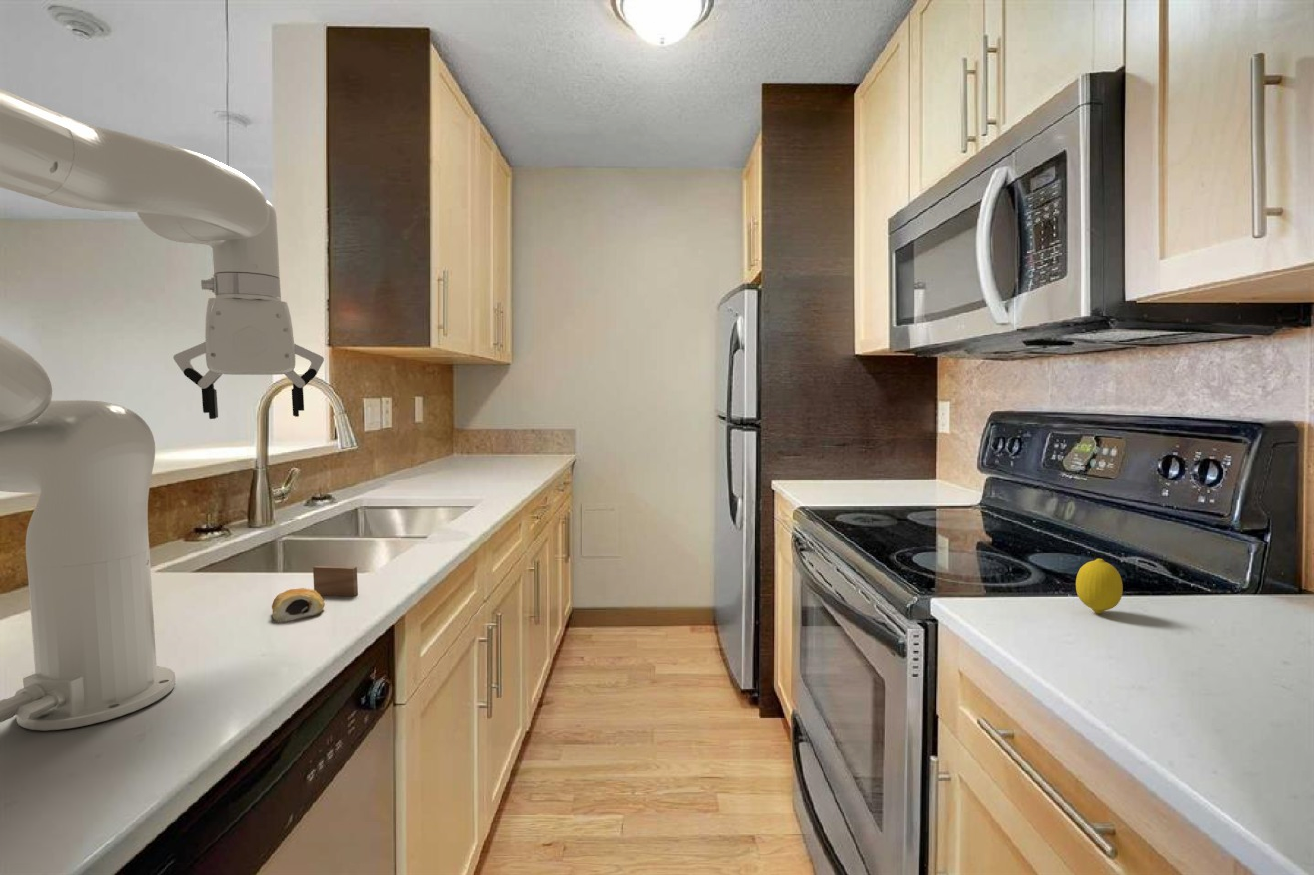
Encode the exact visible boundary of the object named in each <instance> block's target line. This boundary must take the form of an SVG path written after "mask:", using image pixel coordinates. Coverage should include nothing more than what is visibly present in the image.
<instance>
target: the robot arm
mask: <svg viewBox="0 0 1314 875" xmlns="http://www.w3.org/2000/svg"><path fill="white" fill-rule="evenodd" d="M0 188H2V189H5V190H10V191H12V192H16V193H19V194H22V195H25V196H28V197H32V198H36V199H39V200H41V201H42V200H43V201H45V202H49V203H52V204H55V205H59V206H63V207H69V208H75V209H82V210H88V211H89V210H90V211H96V212H97V211H98V212H119V213H120V212H121V213H127V212H128V213H137V215H138V217H139V219H140V221H141V222H142V223H143V224H144V225H145V226H146V227H147V228H148V229H149V230H150V231H151V232H153V233H155V234H156V235H158V236H159V237H161V238H164V239H166V240H169V241H173V242H176V243H177V242H178V243H184V244H186V243H187V244H198V245H206V246H210V247H211V248H212V261H213V262H212V263H213V274H212V275H213V277H211V278H208V279H201V280H200V281H201V282H200V284H201V290H202V291H208V292H212V293H213V294H214V295H215V297H210V298H208V300H207V306H206V313H205V329H204V330H205V333H204V334H205V335H204V337H205V341H204V342H201V343H199V344H197V345H194V346H192V347H190V348H187V349H185V350H183V351H180V352H178V353H176V354H174V355H173V360H174V362H175V363H176V364H177V366H178V368H179V369H180V370H181V371H182V373H183V375H184V376H185V377H186V378H187V379H189V380H190V381H191V382H193V383H194V384H196V385H197V386H198V387H199V388H200V389H201V398H202V399H201V400H202V402H201V403H202V412H203V414H207V413H208V418H209V420H215V419H217V418H219V410H218V407H219V406H218V396H217V395H218V394H217V393H218V392H217V391H218V390H217V389H215V383H216V382H217V381H218V380H219V379H220V378H221V377H222V375H232V376H233V375H239V376H241V375H250V376H252V375H253V376H254V375H258V376H259V375H261V376H262V375H265V376H266V375H267V376H269V375H271V376H272V375H273V376H275V375H285V377H286V378H288V380H290V381H291V382H292V386H293V387H292V388H291V401H292V402H291V403H292V404H291V405H292V416H293V417H295V418H296V417H297V418H298V417H299V416H300V412H299V411H302V412H303V411H305V402H304V401H305V399H304V387H305V386H306V385H307V384H308V383H310V382H311V381H312V380H313V379H314V378H315V377H316V376H317V374H318V373H319V370H320V369H321V367H322V365H323V363H324V361H325V358H324V356H322V355H320V354H318V353H316V352H313V351H312V350H310V349H307V348H305V347H303V346H300V345H298V344H296V343H295V340H294V330H293V322H292V317H291V313H290V312H291V311H290V308H289V305H288V302H287V301H282V297H281V296H282V295H281V294H282V293H281V279H280V277H281V276H280V260H279V259H280V258H279V257H280V255H279V239H278V238H279V237H278V222H277V212H276V209H275V207H274V205H273V204H272V203H271V202H270V201H269V200H267V199H266V196H265V194H264V193H263V190H261V188H260V187H259V186H258V185H257V184H256V183H255V182H254V181H253V180H252V179H251V178H249V177H248V176H246V175H245V174H243V173H242V172H240V171H238V170H237V169H235V168H232V167H231V166H228V165H226V164H224V163H223V162H219V161H218V160H215V159H213V158H211V157H209V156H206V155H203V154H202V153H200V152H199V153H198V152H195V151H192V150H189V149H185V148H182V147H179V146H176V145H172V144H168V143H164V142H160V141H155V140H151V139H148V138H143V137H139V136H135V135H131V134H128V133H124V132H121V131H118V130H112V129H108V128H105V127H100V126H95V125H91V124H87V123H84V122H81V121H79V120H76V119H73V118H71V117H69V116H66V115H64V114H61V113H59V112H57V111H54V110H52V109H50V108H47V107H44V106H42V105H40V104H37V103H36V102H33V101H30V100H28V99H26V98H23V97H21V96H20V95H17V94H14V93H12V92H10V91H7V90H5V89H3V88H1V87H0ZM203 355H205V361H206V366H207V368H208V371H207V372H206V373H205V374H204V375H203V374H201V373H200V372H198V371H197V370H196V369H195V367H194V366H193V365H192V363H191V361H192V360H193V359H196V358H198V357H200V356H203ZM296 356H299V357H301V358H304V359H305V360H308V361H309V362H310V366H309V368H308V369H307V370H306V371H305V372H304V373H303V374H302V375H301V376H299V374H298V373H296V371H295V370H294V369H295V368H296ZM52 386H53V385H52V382H51V380H50V377H49V374H48V373H47V371H46V370H45V369H44V367H43V366H42V365H41V364H40V362H38V361H37V360H36V359H35V358H34V357H32V355H30V354H29V353H28V352H26V351H25V349H22V348H21V347H19V346H18V345H17V344H15V343H14V342H12V341H11V340H9V339H8V338H6V337H5V336H3V335H2V334H0V492H5V493H24V494H25V493H26V494H31V493H32V494H39V498H38V500H37V503H36V505H35V508H34V510H33V513H32V514H31V517H30V520H29V523H28V525H27V530H26V536H25V559H26V560H25V561H26V566H27V567H26V568H27V580H28V593H29V594H28V596H29V606H30V620H31V621H30V622H31V633H32V645H33V660H34V673H33V674H31V675H28V676H24V677H23V678H22V682H23V688H20V689H18V690H17V691H16V692H15V694H14V695H13V696H11V697H9V698H8V697H7V698H4V699H0V723H3V722H6V721H7V720H10V719H12V718H14V716H16V723H17V724H18V726H20V727H22V728H24V729H27V730H32V731H59V730H67V729H74V728H79V727H84V726H90V725H95V724H98V723H99V724H100V723H103V722H107V721H111V720H113V719H117V718H120V717H122V716H126V715H129V714H131V713H134V712H136V711H139V710H142V709H143V708H146V707H148V706H150V705H151V704H154V703H156V702H158V701H160V700H161V699H162V698H164V697H165V696H166V695H168V694H169V693H170V692H171V691H173V689H174V688H175V686H176V673H175V672H174V670H172V669H171V668H168V667H165V666H159V665H158V664H157V651H156V650H157V648H156V635H155V634H156V633H155V632H156V631H155V620H154V619H155V618H154V616H155V615H154V600H153V588H152V587H153V586H152V583H153V582H152V570H151V568H152V567H151V553H150V552H151V551H150V550H151V549H150V542H149V541H150V540H149V520H148V519H149V518H148V517H149V516H148V515H149V514H148V513H149V509H148V508H149V506H148V505H149V494H150V488H151V487H150V486H151V480H152V475H153V471H154V465H155V459H156V442H155V438H154V434H153V432H152V430H151V428H150V427H149V424H147V422H146V421H145V420H144V419H143V418H142V417H141V416H140V415H138V414H137V413H136V412H135V411H133V410H130V409H129V408H126V407H124V406H122V405H119V404H116V403H111V402H106V401H101V400H99V401H98V400H85V399H84V400H81V399H80V400H78V399H77V400H67V399H66V400H52V397H53V387H52Z"/></svg>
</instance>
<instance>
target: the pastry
mask: <svg viewBox="0 0 1314 875" xmlns="http://www.w3.org/2000/svg"><path fill="white" fill-rule="evenodd" d="M325 605H326V604H325V600H324V598H323V597H322V595H320V594H319V593H318V592H317V591H316V590H314V589H310V588H306V587H305V588H304V587H300V588H292V589H288V590H285V591H283V592H281V593H279V594H277V595H276V596H275V598H274V600H273V602H272V604H271V610H272V617H273V619H274V621H275V622H278V621H279V622H280V621H281V622H291V621H294V620H299V619H303V618H310V616H311V617H314V616H317V615H319V614H321V613H322V612H323V611H324V608H325ZM279 622H278V623H279Z"/></svg>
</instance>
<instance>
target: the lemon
mask: <svg viewBox="0 0 1314 875" xmlns="http://www.w3.org/2000/svg"><path fill="white" fill-rule="evenodd" d="M1123 587H1124V586H1123V580H1122V577H1121V575H1120V573H1119V571H1118V570H1117V568H1115V566H1113V565H1112V564H1111V563H1109V562H1106V561H1105V560H1104V559H1103V558H1096V559H1095V560H1091V561H1088V562H1086V563H1085V564H1083V565H1082V566H1081V567H1079V570H1078V572H1077V575H1076V579H1075V590H1076V594H1077V597H1078V598H1079V600H1080V602H1082V603H1083V604H1084V605H1085V606H1086V607H1088V608H1090V609H1092V611H1093V612H1094V614H1099V615H1100V614H1102V613H1103V612H1105V611H1108V610H1111V609H1113V608H1115V607H1117V605H1118V604H1119V603H1120V601H1121V599H1122V596H1123V589H1124V588H1123Z"/></svg>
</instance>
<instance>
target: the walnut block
mask: <svg viewBox="0 0 1314 875" xmlns="http://www.w3.org/2000/svg"><path fill="white" fill-rule="evenodd" d="M312 570H313V571H312V575H313V590H316V591H317V592H318V593H319V594H320V595H321V596H336V597H337V596H339V597H356V596H358V595H359V592H358V591H359V589H358V588H359V587H358V585H359V584H358V567H357V566H341V565H339V566H337V565H335V566H334V565H333V566H332V565H316V566H313V567H312Z"/></svg>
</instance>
